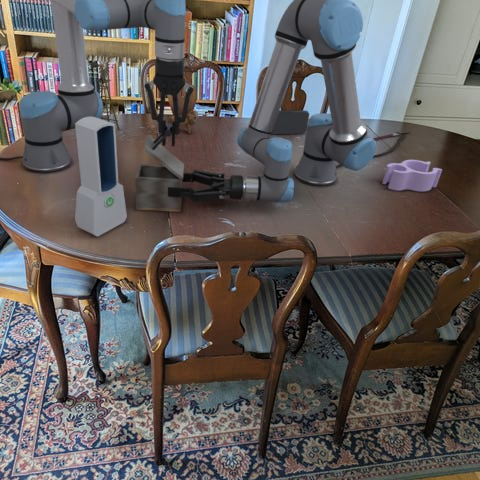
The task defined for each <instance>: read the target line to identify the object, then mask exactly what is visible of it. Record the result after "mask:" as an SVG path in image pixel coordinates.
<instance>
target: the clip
mask: <svg viewBox="0 0 480 480" xmlns="http://www.w3.org/2000/svg"><path fill="white" fill-rule="evenodd" d="M431 163H432V162H431V161H423V160H418V159H405V160H403V161H402V162H400V163H398V162H397V163H396V162H389V163H388V164H387V165H386V168H385V172H384V176H383V178H382V183H381V184H383V185H387V183H388V186H387V188H388V189H389V190H392V191H404V190H410V191H414V192H429V191H431V190H432V188H437V185H438V183H439V180H440V177H441V176H442V175H441V174H442V172H443V168H439V167H432V169H431V171H429V170H430V166H431Z"/></svg>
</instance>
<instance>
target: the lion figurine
mask: <svg viewBox="0 0 480 480" xmlns="http://www.w3.org/2000/svg"><path fill="white" fill-rule="evenodd" d="M198 119H199V111H197V110H195V109H192V110H190V111H189V112H187V116H186V121H185V122H181V123H180V124H179V127H185V132H187V134H192V131H191V127H192V126H194V125H196V123H197V122H198ZM173 121H175V120H174V115H171V116H170V117H168V119H167V121H166V124H167V123H171V124H172V122H173Z"/></svg>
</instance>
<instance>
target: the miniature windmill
mask: <svg viewBox="0 0 480 480" xmlns="http://www.w3.org/2000/svg"><path fill="white" fill-rule="evenodd" d="M104 58H106V59H104ZM99 59H100V60H99V63H97V62H94V61H90V68H91V69H98V71H99V72H98V74H99V78H98V79H96V80H95V82H96V83H98V86H97V92H98V93H99V94H100V96H101V97H100V99H102V102H104V103H105V106H104V105H103V109H105V111H104V110H103V113H105V114H106V117H107V118H106V117H103V116H102V117H101V119H102V120H105V121H108V122H111V121H113V123H114V124H115V126H116V128H117V130H120V125H119V120H118V118H117V114H116V112H115V107H114V105H113V100H112V96H111V93H110V90H109V86H108V83H109V82H111V81H112V80H111V79H109V78H108V76H109V73H110V70H109V69H110V68H111V66H110V59H109V57H108V54H105V53H103V54H102V56H100V58H99ZM106 91H107V94H106ZM107 95H108V96H107ZM103 98H104V99H103ZM108 101H109V102H110V105H111V107H110V106H108ZM109 109H110V110H109ZM111 112H112V114H113V117H114V119H111V118H110V116H109V113H111Z"/></svg>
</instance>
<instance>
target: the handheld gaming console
mask: <svg viewBox="0 0 480 480" xmlns="http://www.w3.org/2000/svg"><path fill="white" fill-rule="evenodd" d="M309 119H310V113H309V111H308V110H303V109H301V110H299V109H284V110H283V109H280V110H279V113H278V116H277V119H276V121H275V124H274V127H273V130H272V133H271V135H293V134H294V135H297V134H298V135H300V134H306V132H307V126H308V123H309Z"/></svg>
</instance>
